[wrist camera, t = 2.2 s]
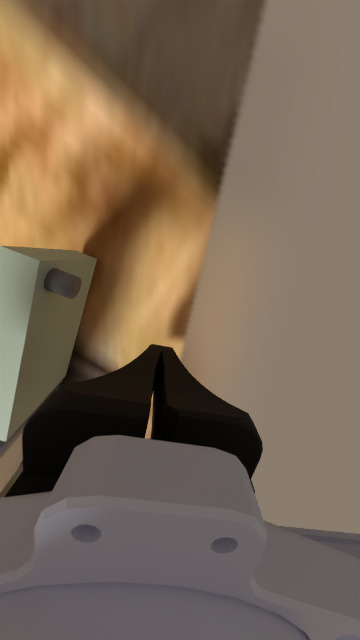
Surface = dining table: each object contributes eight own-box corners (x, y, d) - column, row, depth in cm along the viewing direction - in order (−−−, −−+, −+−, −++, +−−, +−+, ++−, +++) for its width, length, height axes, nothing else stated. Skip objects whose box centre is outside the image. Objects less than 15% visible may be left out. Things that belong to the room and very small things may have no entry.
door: (44, 382, 13) (-26, 451, 9) (75, 250, 11) (0, 245, 6) (75, 391, 14) (23, 463, 9) (112, 265, 11) (67, 271, 6)
